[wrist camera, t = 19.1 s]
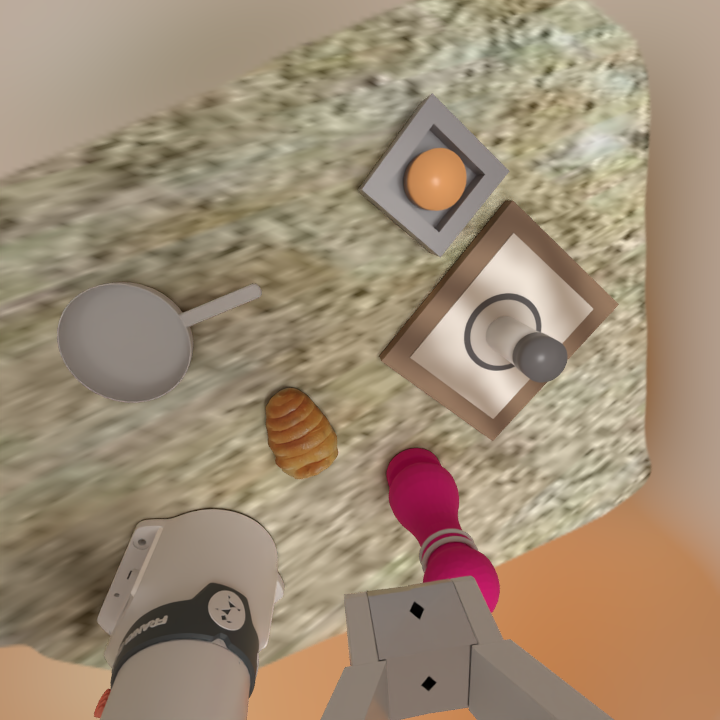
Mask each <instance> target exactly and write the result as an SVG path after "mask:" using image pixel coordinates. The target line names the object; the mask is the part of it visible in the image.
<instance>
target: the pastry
mask: <svg viewBox="0 0 720 720" xmlns="http://www.w3.org/2000/svg"><path fill="white" fill-rule="evenodd" d="M266 416H267V418H266V428H267V431H268V437H269V438H268V445H269V447H270V448H271V449H272V451H273V453H274V454H275V456H276V460H275V462H276V464H277V465H278V466H279V467H280V468H282V471H283V472H284V473H286V474H288V475H289V476H292V477H294V478H295V479H304V478H308V477H311V476H315V475H318V474H319V473H320V472H321V471H323V470H325V469H327V468H328V467H329V466H330V465H331V464H332V463H333V461H334V460H335V459H336V457H337V456H338V449H337V436H336V434H335V432H334V431H333V429H332V427H331V425H330V424H329V422H328V420H327V418H326V417H325V416H324V415H323V414H322V412H321V411H320V410H319V409H318V408H317V406H316V405H315V404H314V403H313V402H312V400H311V399H310V398H309V397H308V396H307V395H306V394H304V393H303V392H301V391H299V390H298V389H295V388H286V389H283V390H281V391H279V392H278V393H276V394H275V395H274V396H273V397H272V398H271V399H270V401H269V402H268V404H267V406H266Z"/></svg>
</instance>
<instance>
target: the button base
mask: <svg viewBox="0 0 720 720" xmlns="http://www.w3.org/2000/svg"><path fill="white" fill-rule="evenodd" d="M434 148H445V149H449V150H451V151H453V152H454V153H456V154H457V155H458V156H459V157H460V159H461V160H462V162H463V164H464V166H465V169H466V186H465V189H464V192H463V194H462V196H461V197H460V199H459V200H458V201H457V202H456V203H455V204H454V205H452V206H451V207H449V208H447V209H444V210H439V211H434V210H424V209H420V208H418V207H416V206H415V205H414V204H412V203H411V202H410V200H409V199H408V197H407V195H406V193H405V190H404V174H405V171H406V168H407V166H408V165H409V163H410V162H411V161H412V159H414V158H415V157H416V156H417V155H419V154H421V153H423V152H426V151H428V150H431V149H434ZM508 172H509V170H508V169H507V168H506V167H505V166H504V165H503V164H502V163H501V162H500V161H499V160H498V159H497V158H496V157H495V156H494V155H493V154H492V153H491V152H490V151H489V150H488V149H487V148H486V147H485V146H484V145H483V144H482V143H481V142H480V141H479V140H478V139H477V138H476V137H475V136H474V135H473V134H472V133H471V132H470V131H469V130H468V129H467V128H466V127H465V126H464V125H463V124H462V123H461V122H460V121H459V120H458V119H457V118H456V117H455V116H454V115H453V114H452V113H451V112H450V111H449V110H448V109H447V108H446V107H445V106H444V105H443V104H442V103H441V102H440V101H439V100H438V99H437V98H436V97H435V96H434V95H433V94H431V95H430V96H428V97H427V98H426V99H425V100H423V101H422V102H421V104H420V105H419V107H418V108H417V109H416V111H415V112H414V113H413V115H412V116H411V117H410V119H409V120H408V122H407V123H406V124H405V126H404V127H403V128H402V130H401V131H400V133H399V134H398V135H397V137H396V138H395V139H394V141H393V142H392V144H391V145H390V146H389V148H388V149H387V150H386V152H385V153H384V154H383V156H382V157H381V159H380V160H379V161H378V163H377V164H376V165H375V167H374V168H373V170H372V171H371V172H370V174H369V175H368V176H367V178H366V179H365V180H364V182H363V183H362V185H361V186H360V187H359V189H358V190H357V191H359V192H360V193H361V194H362V195H363V196H364V197H366V198H367V199H368V200H369V201H370V202H371V203H373V204H374V205H375V206H376V207H377V208H379V209H380V210H381V211H382V212H383V213H384V214H386V215H387V216H388V217H389V218H390V219H391V220H393V221H394V222H395V223H396V224H397V225H398V226H400V227H401V228H402V229H403V230H404V231H405V232H407V233H408V234H409V235H410V236H411V237H412V238H414V239H415V240H416V241H417V242H418V243H419V244H421V245H422V246H423V247H424V248H425V249H426V250H428V251H429V252H430V253H431V254H434V255H436V256H439V257H441V256H442V255H443V253H444V252H445V251H446V250H447V248H448V247H449V246H450V245H451V243H452V242H453V241H454V240H455V238H456V237H457V236H458V235H459V233H460V232H461V231H462V230H463V228H464V227H465V226H466V225H467V223H468V222H469V221H470V220H471V218H472V217H473V216H474V215H475V213H476V212H477V211H478V210H479V208H480V207H481V206H482V205H483V203H484V202H485V201H486V200H487V198H488V197H489V196H490V195H491V193H492V192H493V191H494V190H495V188H496V187H497V186H498V185H499V183H500V182H501V181H502V180H503V179H504V177H505V176H506V175H507V174H508Z"/></svg>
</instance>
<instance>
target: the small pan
mask: <svg viewBox="0 0 720 720" xmlns="http://www.w3.org/2000/svg"><path fill="white" fill-rule="evenodd" d="M261 295H262V291H261V289H260V287H259V286H258V285H257V284H250V285H248V286H246V287H243V288H241V289H238V290H236V291H234V292H231V293H229V294H226V295H224V296H222V297H219V298H217V299H214V300H212V301H210V302H207V303H205V304H203V305H200V306H198V307H195V308H193V309H191V310H188V311H186V312H183V313H182V311H181V310H180V308H179V307H178V306H177V305H176V304H175V303H174V302H173V301H172V300H170V299H169V298H168V297H167V296H165V295H164V294H162V293H161V292H159V291H157V290H155V289H153V288H150V287H148V286H145V285H142V284H137V283H132V282H114V283H107V284H102V285H98V286H95V287H92V288H89V289H87V290H85V291H84V292H82V293H80V294H78V295H77V296H76V297H75V298H74V299H72V300H71V301H70V303H69V304H68V305H67V306H66V308H65V309H64V311H63V313H62V315H61V317H60V320H59V324H58V328H57V342H58V347H59V351H60V354H61V357H62V359H63V361H64V363H65V365H66V366H67V368H68V370H69V371H70V372H71V373H72V375H73V376H74V377H75V378H76V379H77V380H78V381H79V382H80V383H81V384H83V385H84V386H85V387H86V388H88V389H90V390H91V391H93V392H94V393H96V394H98V395H101V396H103V397H105V398H108V399H112V400H115V401H121V402H127V403H130V402H145V401H150V400H153V399H156V398H159V397H161V396H163V395H165V394H167V393H168V392H170V391H171V390H172V389H174V388H175V387H176V386H177V385H178V384H179V382H180V381H181V380H182V379H183V377H184V375H185V374H186V372H187V370H188V368H189V365H190V362H191V359H192V354H193V335H192V332H191V328H190V326H192V325H194V324H197V323H199V322H201V321H204V320H206V319H209V318H211V317H214V316H216V315H218V314H221V313H223V312H226V311H228V310H230V309H233V308H235V307H238V306H240V305H242V304H245V303H247V302H250V301H252V300H254V299H257V298H259V297H260V296H261Z"/></svg>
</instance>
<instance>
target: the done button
mask: <svg viewBox="0 0 720 720" xmlns="http://www.w3.org/2000/svg"><path fill="white" fill-rule="evenodd" d="M465 186H466V169H465V166H464V164H463V162H462V160H461V159H460V157H459V156H458V155H457V154H456V153H454V152H453V151H451V150H449V149H445V148H434V149H431V150H428V151H426V152H423V153H421V154H419V155H417V156H416V157H415V158H414V159H412V161H411V162H410V163H409V165H408V166H407V168H406V171H405V174H404V190H405V193H406V195H407V197H408V199H409V200H410V202H411V203H412V204H414V205H415V206H416V207H418V208H420V209H424V210H434V211H439V210H444V209H447V208H449V207H451V206H452V205H454V204H455V203H456V202H457V201H458V200H459V199H460V197H461V196H462V194H463V192H464V189H465Z"/></svg>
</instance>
